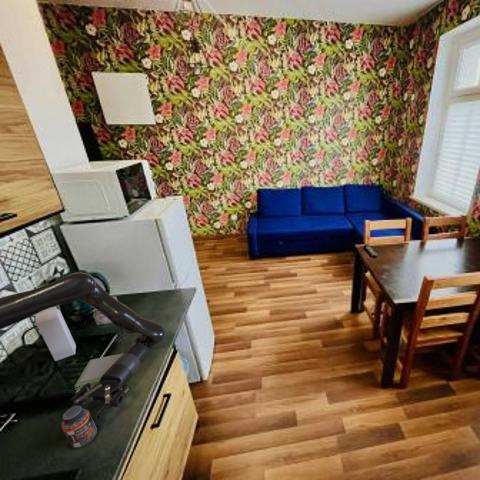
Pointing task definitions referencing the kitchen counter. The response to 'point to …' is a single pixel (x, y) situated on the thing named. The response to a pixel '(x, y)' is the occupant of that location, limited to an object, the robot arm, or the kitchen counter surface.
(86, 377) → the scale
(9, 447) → the kitchen counter surface
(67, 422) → the supplement bottle
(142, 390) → the kitchen counter surface
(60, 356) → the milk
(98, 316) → the food item
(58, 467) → the kitchen counter surface
